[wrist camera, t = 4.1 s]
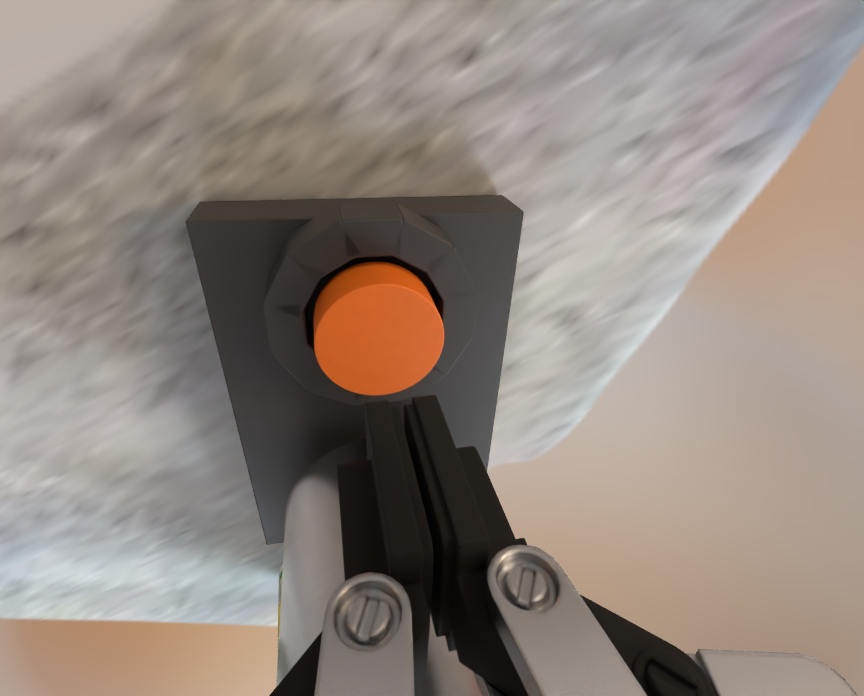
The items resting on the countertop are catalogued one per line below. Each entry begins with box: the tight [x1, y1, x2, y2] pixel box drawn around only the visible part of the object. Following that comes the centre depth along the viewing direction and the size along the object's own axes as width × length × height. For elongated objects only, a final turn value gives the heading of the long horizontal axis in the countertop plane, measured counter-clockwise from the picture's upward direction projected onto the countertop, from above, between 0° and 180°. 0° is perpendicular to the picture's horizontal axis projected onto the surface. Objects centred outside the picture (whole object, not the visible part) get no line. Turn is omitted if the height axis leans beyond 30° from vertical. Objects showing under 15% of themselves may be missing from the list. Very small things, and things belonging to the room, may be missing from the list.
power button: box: [314, 262, 444, 395], centre depth 15 cm, size 4×4×2 cm
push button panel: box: [186, 195, 524, 545], centre depth 20 cm, size 16×11×4 cm
